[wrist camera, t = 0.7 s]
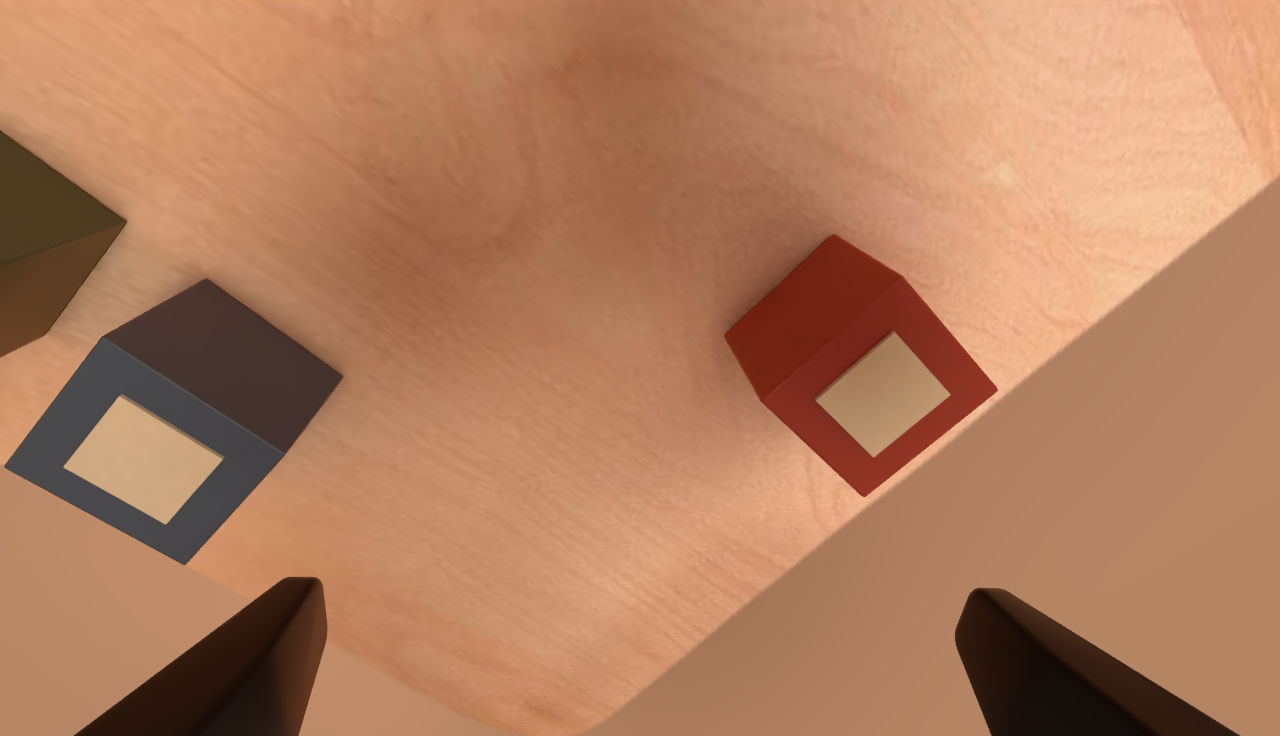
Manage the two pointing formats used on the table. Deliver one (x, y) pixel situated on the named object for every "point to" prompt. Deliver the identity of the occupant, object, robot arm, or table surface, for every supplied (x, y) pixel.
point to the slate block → (176, 419)
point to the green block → (43, 243)
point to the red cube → (857, 364)
